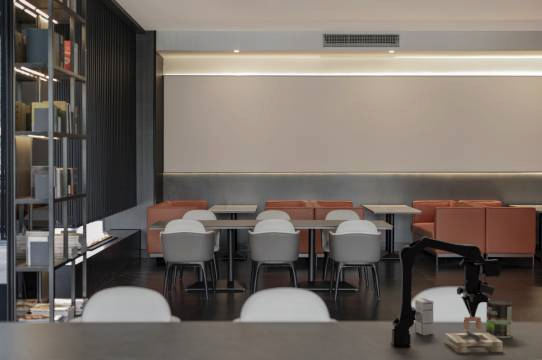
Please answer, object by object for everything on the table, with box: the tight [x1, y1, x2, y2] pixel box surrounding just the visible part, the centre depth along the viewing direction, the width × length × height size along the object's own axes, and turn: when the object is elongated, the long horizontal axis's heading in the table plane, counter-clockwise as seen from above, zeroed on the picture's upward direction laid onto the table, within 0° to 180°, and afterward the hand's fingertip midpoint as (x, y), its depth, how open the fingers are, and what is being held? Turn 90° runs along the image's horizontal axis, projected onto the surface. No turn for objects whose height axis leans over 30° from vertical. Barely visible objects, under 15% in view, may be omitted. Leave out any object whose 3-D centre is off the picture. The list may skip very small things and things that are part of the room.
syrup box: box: [414, 298, 434, 336], centre depth 279 cm, size 6×6×14 cm
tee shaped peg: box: [463, 313, 482, 330], centre depth 258 cm, size 6×3×7 cm, turn 93°
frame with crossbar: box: [444, 329, 504, 354], centre depth 258 cm, size 18×14×6 cm
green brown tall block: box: [485, 299, 513, 339], centre depth 277 cm, size 10×10×14 cm
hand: (472, 316), depth 258 cm, fingers closed on tee shaped peg, 2 cm apart
